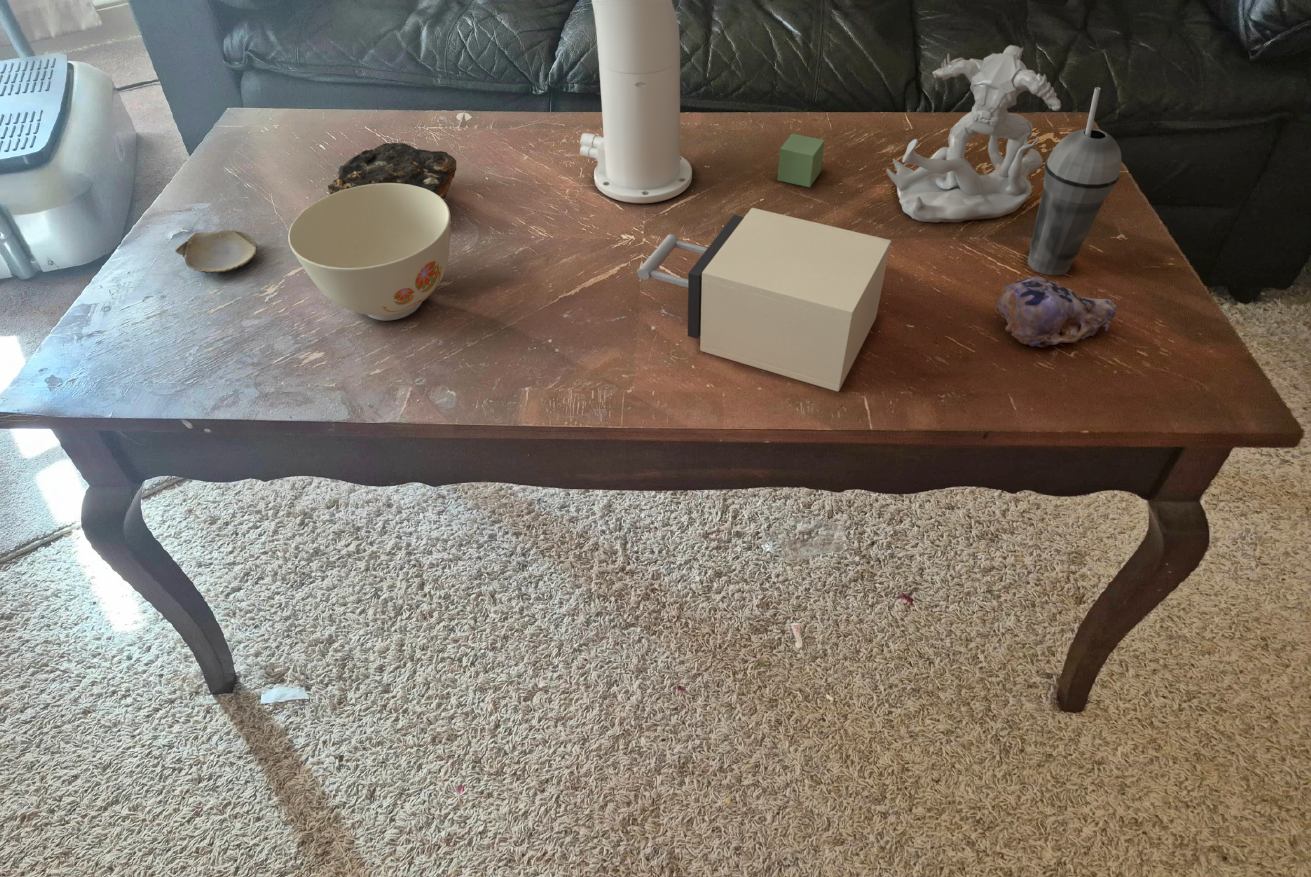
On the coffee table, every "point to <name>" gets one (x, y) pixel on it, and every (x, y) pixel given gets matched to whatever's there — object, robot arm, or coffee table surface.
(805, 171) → the block
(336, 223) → the bowl
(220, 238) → the seashell
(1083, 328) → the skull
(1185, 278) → the coffee table surface
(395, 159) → the fossil rock
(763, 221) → the cream drawer box
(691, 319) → the dark grey drawer
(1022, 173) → the figurine
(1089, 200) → the beverage cup
